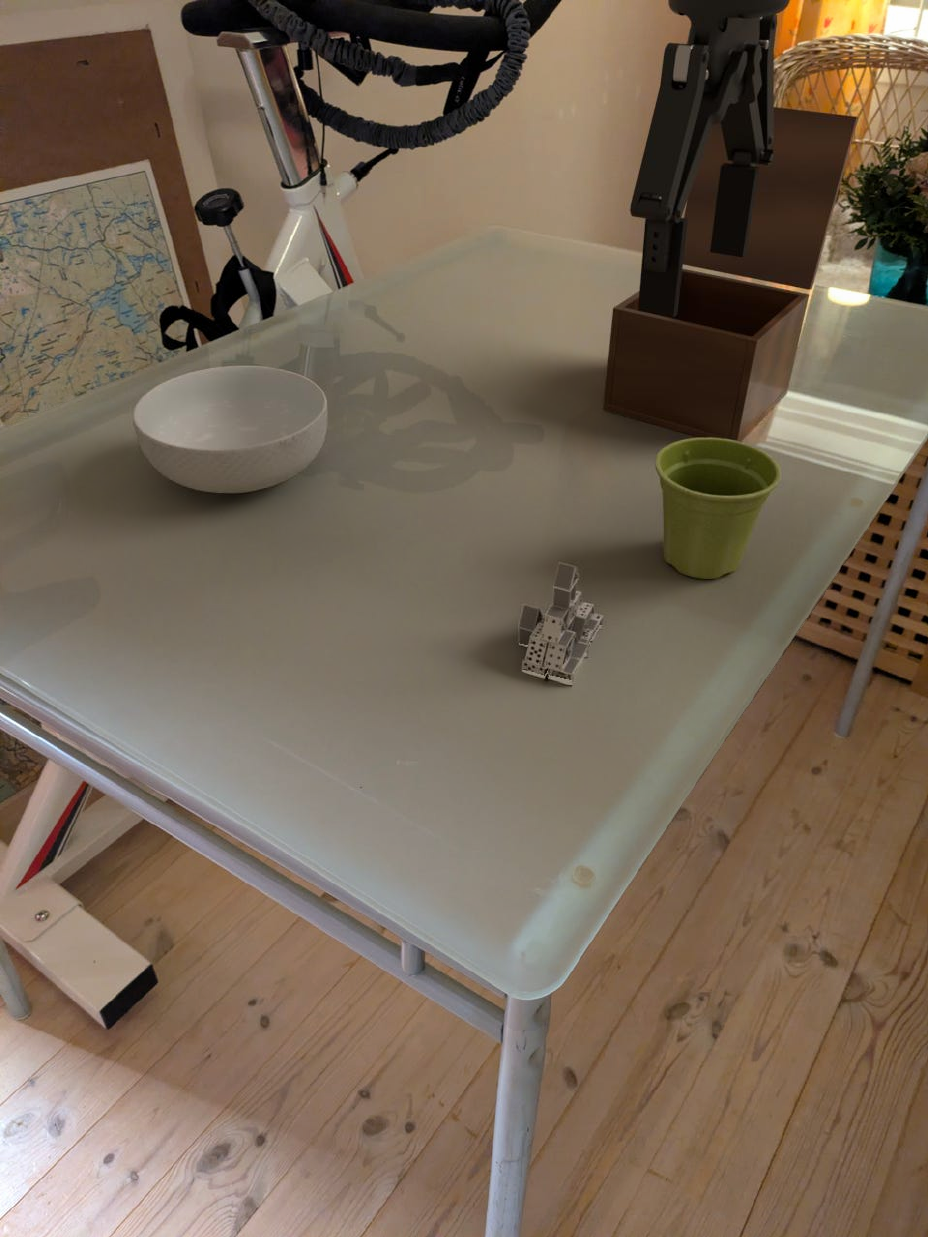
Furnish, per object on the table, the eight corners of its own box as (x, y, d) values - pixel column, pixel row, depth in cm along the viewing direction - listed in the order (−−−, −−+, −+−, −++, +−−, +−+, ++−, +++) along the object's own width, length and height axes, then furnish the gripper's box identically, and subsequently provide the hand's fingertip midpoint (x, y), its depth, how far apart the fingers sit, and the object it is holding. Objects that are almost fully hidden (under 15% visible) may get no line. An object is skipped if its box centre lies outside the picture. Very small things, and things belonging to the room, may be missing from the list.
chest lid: (856, 116, 87) (859, 116, 88) (707, 98, 94) (710, 99, 94) (809, 289, 95) (811, 289, 95) (674, 262, 101) (677, 262, 102)
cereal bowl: (172, 540, 80) (155, 465, 76) (130, 453, 92) (114, 385, 87) (360, 492, 86) (354, 421, 82) (298, 417, 98) (291, 351, 93)
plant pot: (636, 584, 75) (650, 488, 70) (647, 521, 82) (660, 430, 77) (758, 601, 73) (782, 504, 68) (758, 535, 81) (779, 443, 75)
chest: (735, 447, 93) (757, 341, 86) (602, 409, 99) (612, 307, 92) (786, 393, 102) (809, 293, 95) (662, 362, 109) (675, 266, 102)
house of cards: (505, 588, 75) (508, 504, 70) (611, 617, 72) (621, 532, 67) (456, 656, 68) (456, 569, 64) (570, 690, 66) (579, 602, 61)
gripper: (748, -82, 68) (710, 225, 81) (587, -43, 52) (572, 331, 65) (856, -82, 64) (797, 239, 78) (718, -40, 49) (674, 353, 62)
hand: (694, 281), depth 72 cm, fingers open, 13 cm apart
